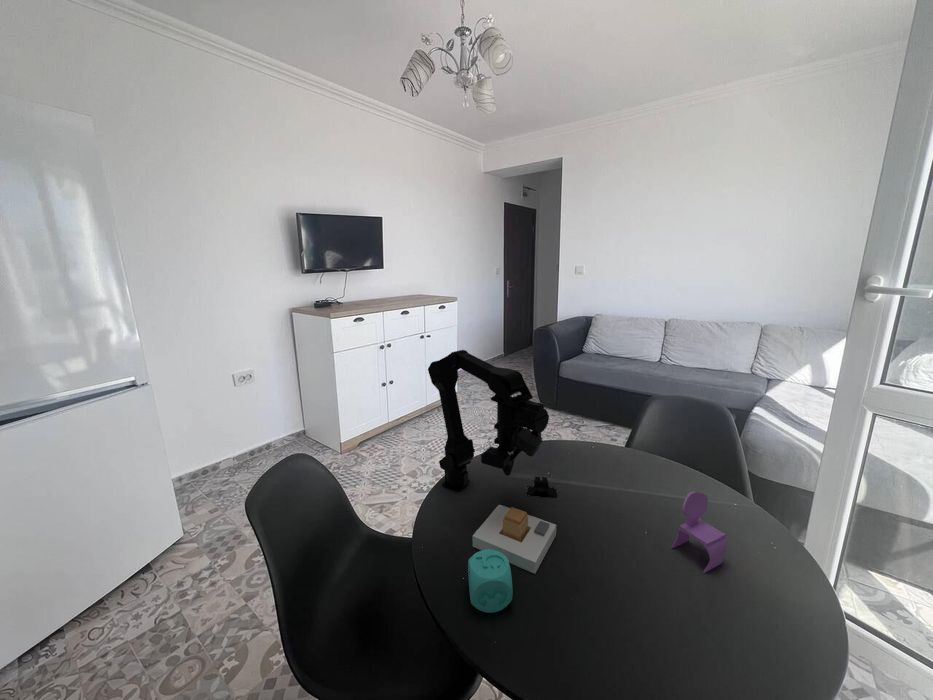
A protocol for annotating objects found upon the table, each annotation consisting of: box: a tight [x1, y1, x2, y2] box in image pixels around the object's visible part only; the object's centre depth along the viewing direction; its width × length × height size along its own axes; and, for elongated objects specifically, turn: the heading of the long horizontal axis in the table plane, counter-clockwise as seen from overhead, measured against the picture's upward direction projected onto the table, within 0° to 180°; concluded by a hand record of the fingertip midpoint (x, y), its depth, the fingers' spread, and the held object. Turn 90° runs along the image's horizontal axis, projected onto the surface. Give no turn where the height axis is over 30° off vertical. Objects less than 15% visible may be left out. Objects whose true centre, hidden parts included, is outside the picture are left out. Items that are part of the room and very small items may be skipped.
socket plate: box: [472, 504, 558, 575], centre depth 92 cm, size 16×14×4 cm
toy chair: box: [670, 491, 727, 574], centre depth 85 cm, size 8×9×15 cm
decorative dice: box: [467, 549, 514, 614], centre depth 77 cm, size 8×8×8 cm
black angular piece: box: [526, 476, 558, 499], centre depth 112 cm, size 12×7×5 cm, turn 82°
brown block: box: [503, 506, 529, 543], centre depth 92 cm, size 5×5×7 cm
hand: (507, 474), depth 100 cm, fingers closed
